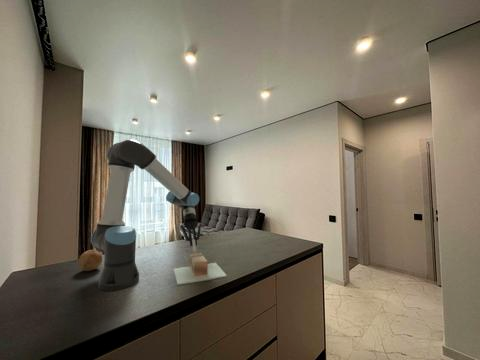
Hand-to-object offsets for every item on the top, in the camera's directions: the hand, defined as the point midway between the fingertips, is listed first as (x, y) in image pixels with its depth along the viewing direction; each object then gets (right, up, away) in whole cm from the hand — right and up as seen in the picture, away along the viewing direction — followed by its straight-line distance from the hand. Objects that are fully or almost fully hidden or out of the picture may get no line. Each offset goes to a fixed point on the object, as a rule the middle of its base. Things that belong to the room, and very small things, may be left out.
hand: (194, 251), depth 110 cm
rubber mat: (+5, -6, -12) cm, 15 cm away
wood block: (+1, -3, -2) cm, 4 cm away
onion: (-50, -7, -9) cm, 51 cm away
